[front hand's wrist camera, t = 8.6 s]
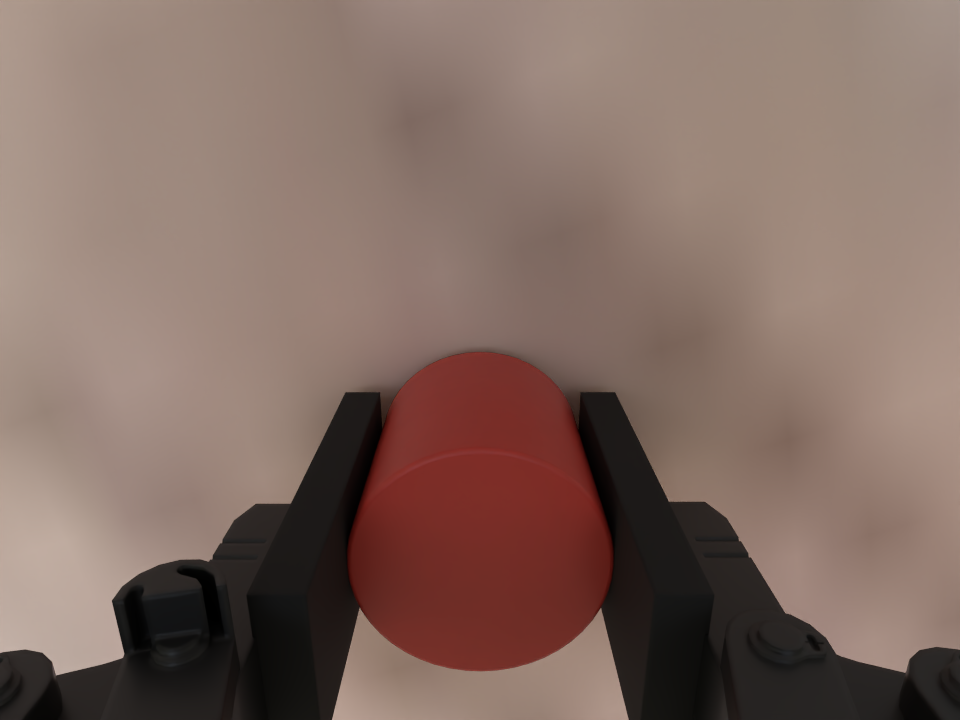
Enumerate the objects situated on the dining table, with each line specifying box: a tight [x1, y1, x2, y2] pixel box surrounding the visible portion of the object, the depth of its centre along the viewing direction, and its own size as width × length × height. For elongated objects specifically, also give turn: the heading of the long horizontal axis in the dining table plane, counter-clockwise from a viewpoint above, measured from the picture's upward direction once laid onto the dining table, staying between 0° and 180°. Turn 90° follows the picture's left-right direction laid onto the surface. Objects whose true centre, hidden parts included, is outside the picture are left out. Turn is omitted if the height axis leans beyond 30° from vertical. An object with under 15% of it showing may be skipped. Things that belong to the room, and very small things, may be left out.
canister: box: [347, 352, 614, 671], centre depth 13 cm, size 4×4×4 cm
